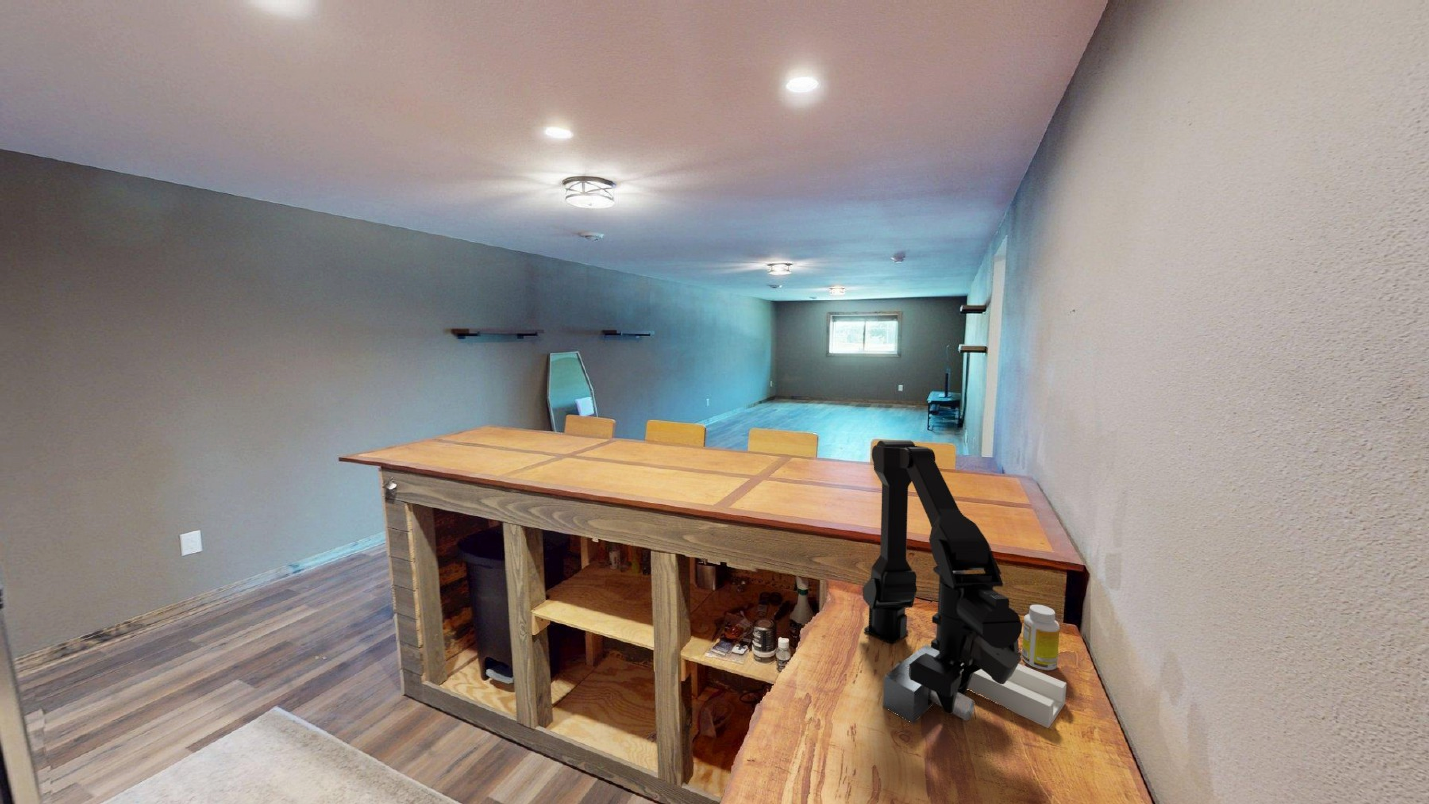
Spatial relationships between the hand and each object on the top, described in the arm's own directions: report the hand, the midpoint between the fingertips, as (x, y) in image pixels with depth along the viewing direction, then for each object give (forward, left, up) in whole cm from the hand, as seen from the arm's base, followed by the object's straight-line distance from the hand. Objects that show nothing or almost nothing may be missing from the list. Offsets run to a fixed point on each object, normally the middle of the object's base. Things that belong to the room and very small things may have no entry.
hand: (953, 707), depth 80 cm
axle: (-4, 0, +1) cm, 4 cm away
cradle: (+4, +12, -1) cm, 13 cm away
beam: (-6, 0, -1) cm, 6 cm away
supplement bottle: (+4, +26, -1) cm, 26 cm away
